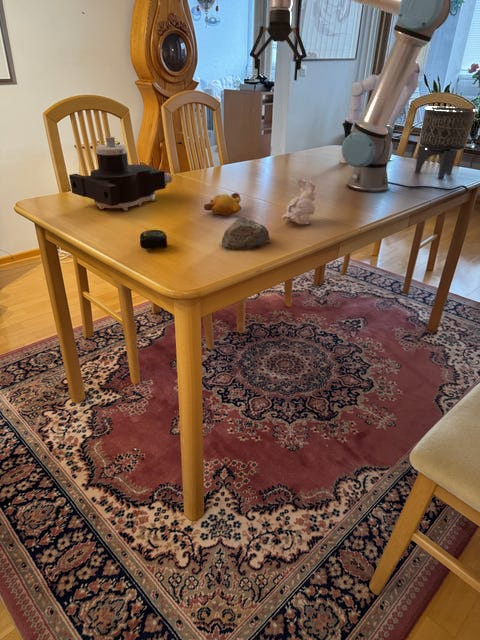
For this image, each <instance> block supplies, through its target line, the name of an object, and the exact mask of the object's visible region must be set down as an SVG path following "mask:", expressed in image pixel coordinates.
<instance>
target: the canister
mask: <svg viewBox="0 0 480 640" xmlns="http://www.w3.org/2000/svg"><path fill="white" fill-rule="evenodd" d="M340 163H342V164H348V163H347V162H346V161H345V160H344V158H343V155H342V154H341V156H340Z"/></svg>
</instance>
